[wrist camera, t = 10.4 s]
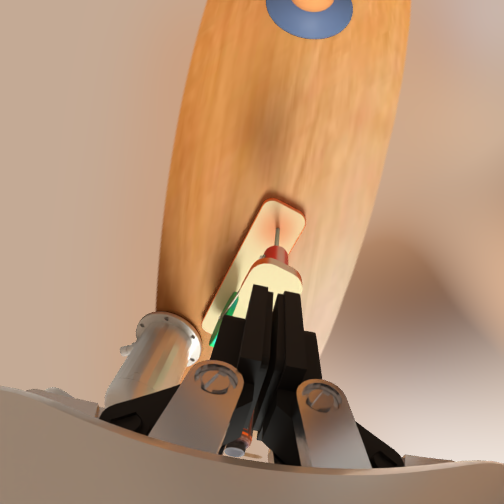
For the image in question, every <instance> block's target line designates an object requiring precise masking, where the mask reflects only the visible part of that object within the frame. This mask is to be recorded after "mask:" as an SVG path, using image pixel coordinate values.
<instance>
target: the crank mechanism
mask: <svg viewBox="0 0 504 504" xmlns="http://www.w3.org/2000/svg"><path fill="white" fill-rule="evenodd" d="M305 225H306V219H305V216H304V214H303V213H302V212H301V211H299V210H297V209H296V208H294V207H292V206H290V205H288V204H286V203H284V202H282V201H280V200H278V199H276V198H269V199H267V200H265V201H264V202H263V204H262V205H261V207H260V209H259V211H258V213H257V215H256V217H255V219H254V221H253V223H252V225H251V226H250V228H249V230H248V232H247V234H246V236H245V238H244V240H243V242H242V244H241V246H240V248H239V250H238V251H237V253H236V255H235V257H234V259H233V261H232V263H231V265H230V267H229V269H228V271H227V273H226V275H225V277H224V279H223V281H222V282H221V284H220V286H219V288H218V290H217V292H216V294H215V296H214V298H213V300H212V302H211V304H210V306H209V308H208V310H207V312H206V314H205V316H204V318H203V320H202V323H201V326H202V328H203V330H204V331H206V332H208V333H210V334H212V336H211V339H210V342H209V345H210V346H212V347H214V345H215V342H216V338H217V335H218V332H219V329H220V325H221V322H222V319H223V316H224V314H226V315H230V316H234V317H239V318H244V319H245V318H246V313H247V309H248V305H249V300H250V296H251V292H252V287H253V284H256V285H261V286H265V287H268V291H270V292H273V308H274V305H275V301H276V297H277V294H278V293H279V294H283V293H284V291H289V292H294V293H299V294H300V295H301V293H302V279H301V276H300V274H299V273H298V271H297V270H295V269H294V268H292V267H290V266H288V255H289V253H290V252H291V250H292V248H293V247H294V245H295V243H296V241H297V240H298V238H299V236H300V235H301V233H302V231H303V229H304V228H305Z"/></svg>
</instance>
